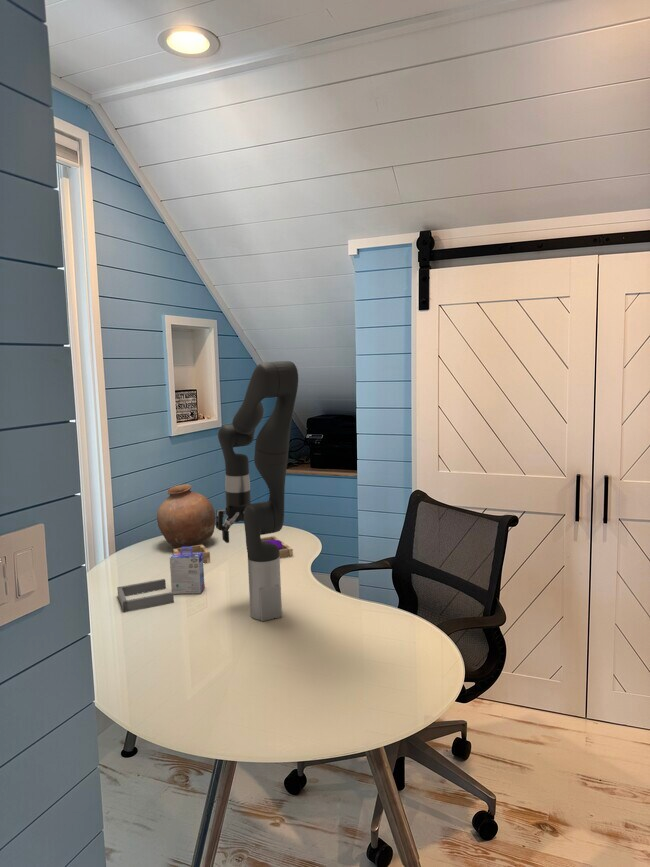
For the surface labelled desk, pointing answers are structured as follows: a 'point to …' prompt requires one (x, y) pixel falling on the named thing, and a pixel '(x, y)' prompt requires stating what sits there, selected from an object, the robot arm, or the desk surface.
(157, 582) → the bay
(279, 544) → the crystal
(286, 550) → the crystal cradle
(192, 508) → the pottery
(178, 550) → the wooden tray
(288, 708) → the desk surface
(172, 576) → the ink cartridge box
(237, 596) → the desk surface
